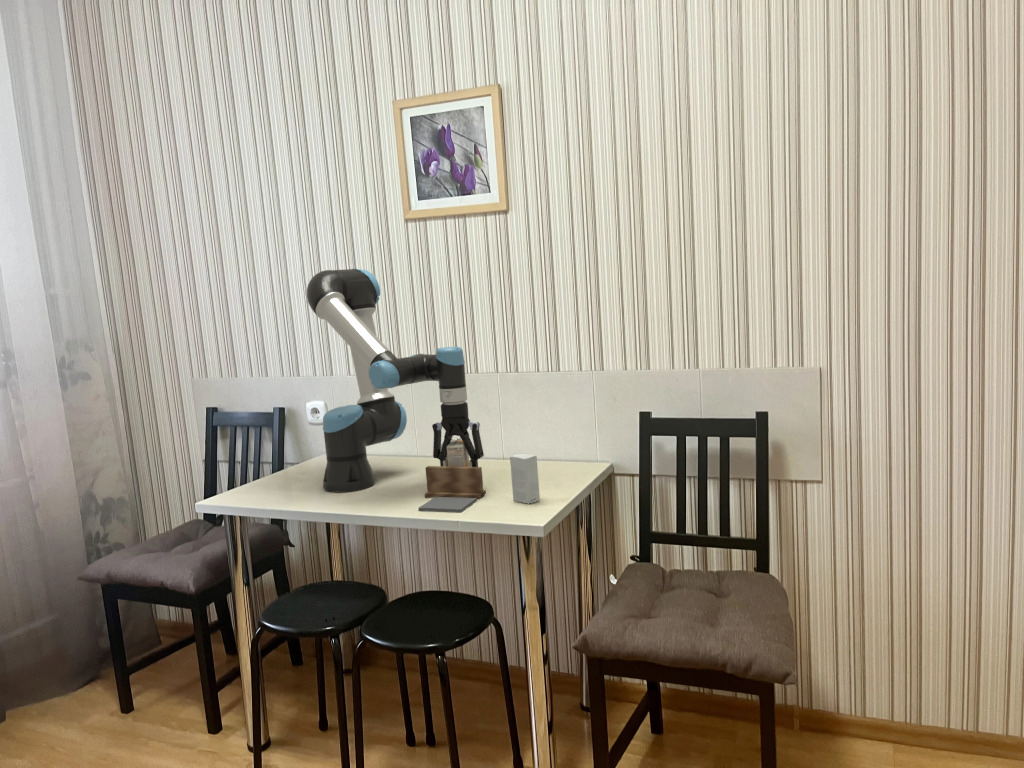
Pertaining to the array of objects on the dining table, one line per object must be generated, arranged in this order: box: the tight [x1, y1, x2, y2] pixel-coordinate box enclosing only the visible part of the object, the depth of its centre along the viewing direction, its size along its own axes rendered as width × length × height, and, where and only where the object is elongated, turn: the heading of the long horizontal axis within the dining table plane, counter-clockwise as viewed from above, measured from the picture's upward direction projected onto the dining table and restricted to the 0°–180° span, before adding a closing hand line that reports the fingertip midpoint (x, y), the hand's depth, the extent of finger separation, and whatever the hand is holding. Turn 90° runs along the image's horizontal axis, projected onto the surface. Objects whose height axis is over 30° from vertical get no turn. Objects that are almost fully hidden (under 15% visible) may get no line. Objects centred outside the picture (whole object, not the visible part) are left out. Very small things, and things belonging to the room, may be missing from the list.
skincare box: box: [509, 453, 541, 505], centre depth 198 cm, size 6×4×12 cm
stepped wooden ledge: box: [424, 465, 487, 500], centre depth 208 cm, size 16×5×8 cm, turn 70°
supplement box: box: [447, 439, 470, 467], centre depth 215 cm, size 8×5×13 cm, turn 174°
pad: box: [418, 497, 478, 513], centre depth 199 cm, size 12×10×1 cm
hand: (460, 482), depth 216 cm, fingers open, 7 cm apart
